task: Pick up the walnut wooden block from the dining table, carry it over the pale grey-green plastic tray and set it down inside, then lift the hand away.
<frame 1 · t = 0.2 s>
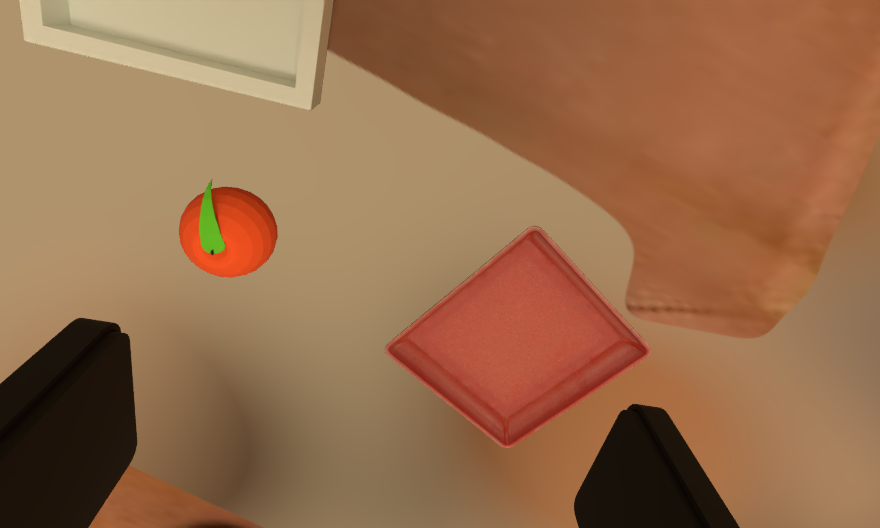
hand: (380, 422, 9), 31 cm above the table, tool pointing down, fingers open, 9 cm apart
clementine: (244, 209, 40), on the table
plant saucer: (513, 330, 47), on the table
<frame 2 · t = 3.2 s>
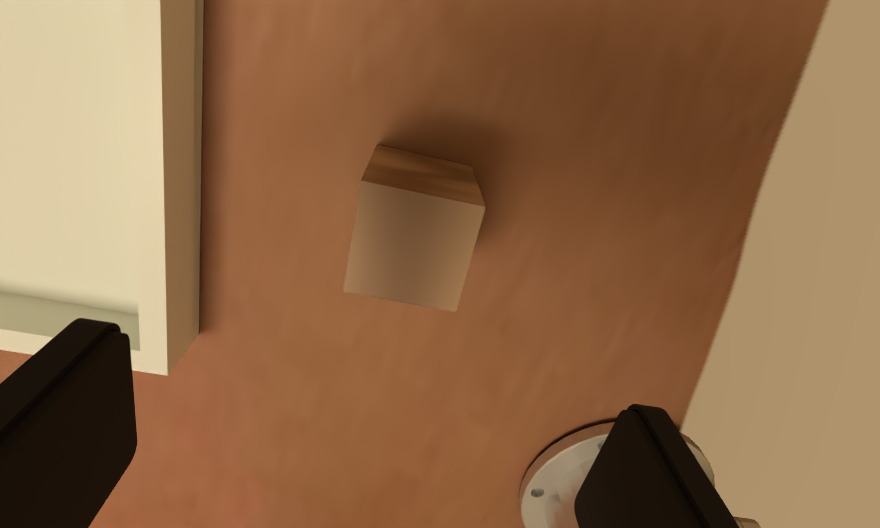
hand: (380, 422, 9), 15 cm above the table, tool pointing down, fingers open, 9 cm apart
block: (415, 200, 23), on the table
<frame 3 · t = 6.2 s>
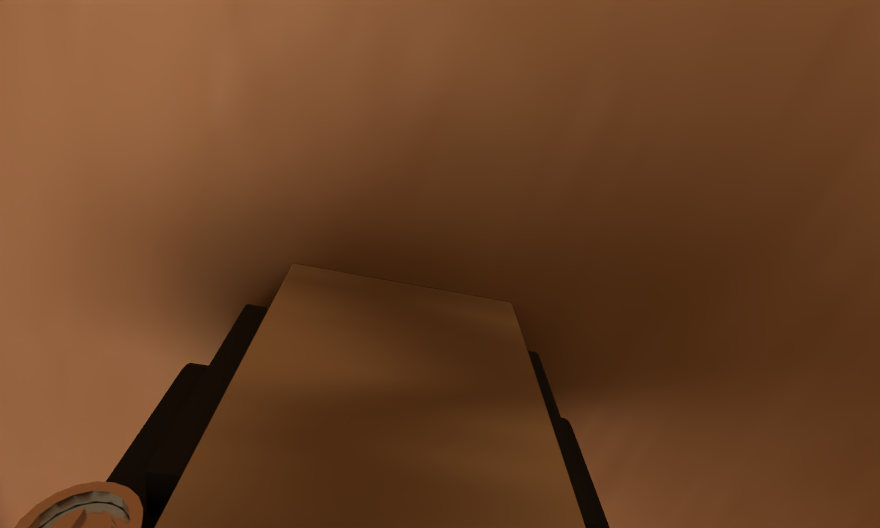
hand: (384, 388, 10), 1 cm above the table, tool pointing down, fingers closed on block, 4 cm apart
block: (386, 369, 11), on the table, touching gripper
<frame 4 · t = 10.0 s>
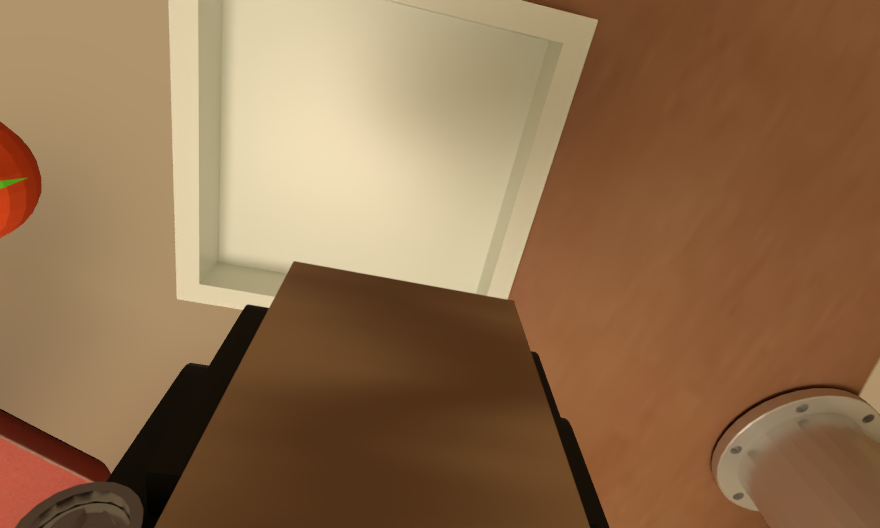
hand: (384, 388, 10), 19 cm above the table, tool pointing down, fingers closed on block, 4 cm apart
clementine: (17, 156, 26), on the table
tray: (369, 158, 27), on the table
block: (387, 368, 11), point 18 cm above the table, touching gripper
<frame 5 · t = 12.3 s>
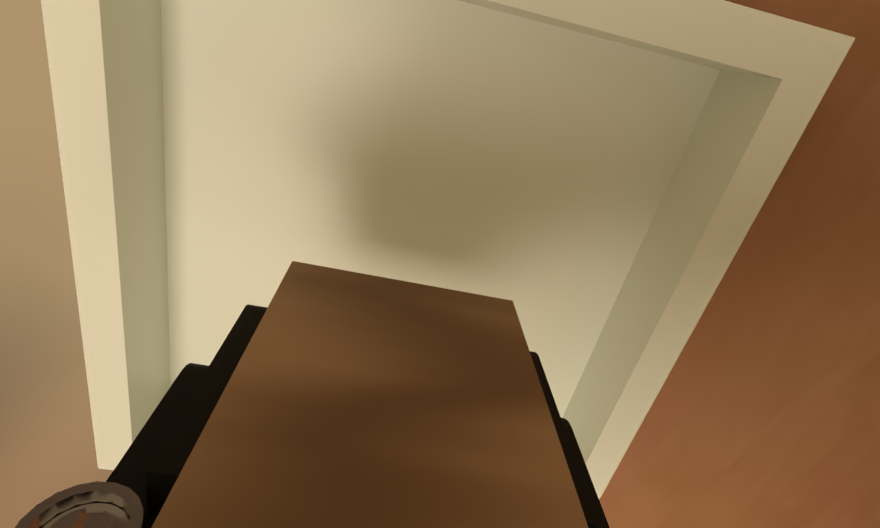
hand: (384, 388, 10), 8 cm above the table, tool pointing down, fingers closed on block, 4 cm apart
tray: (406, 245, 17), on the table
block: (386, 368, 11), point 7 cm above the table, touching gripper
when the fingers open (3 cm above the table, at t = 14.0 s): block drops 2 cm, resting on tray.
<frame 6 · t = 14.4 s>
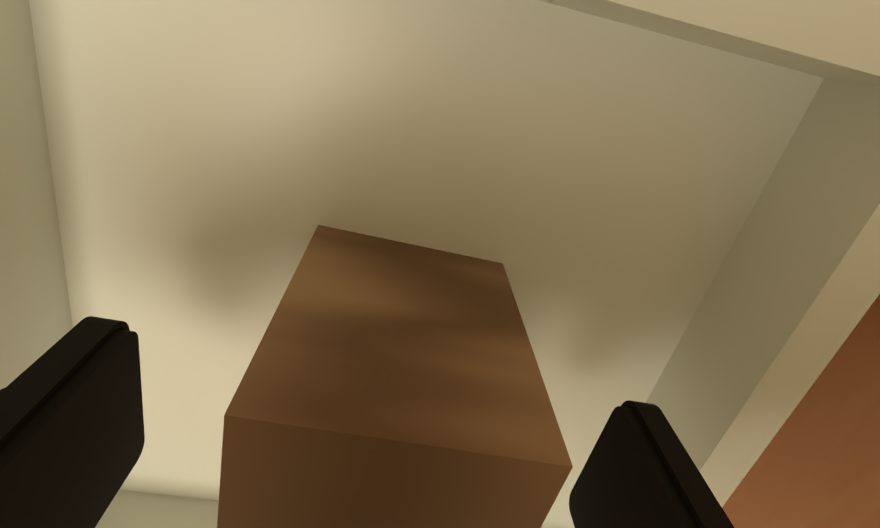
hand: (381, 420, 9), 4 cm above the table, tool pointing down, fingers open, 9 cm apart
tray: (392, 304, 13), on the table
block: (394, 321, 12), point 1 cm above the table, touching tray
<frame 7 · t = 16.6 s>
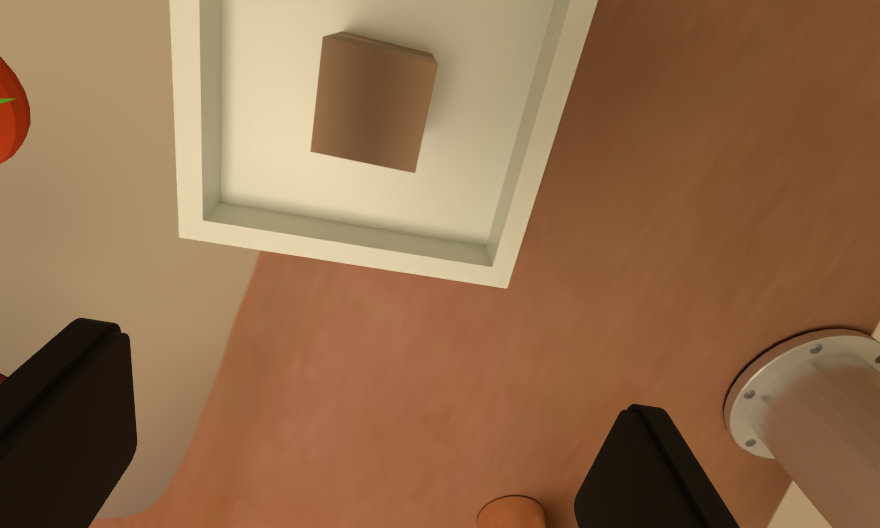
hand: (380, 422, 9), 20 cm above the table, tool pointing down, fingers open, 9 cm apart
clementine: (2, 88, 25), on the table
tray: (379, 86, 25), on the table
beer glass: (510, 515, 43), on the table
block: (380, 89, 25), point 1 cm above the table, touching tray
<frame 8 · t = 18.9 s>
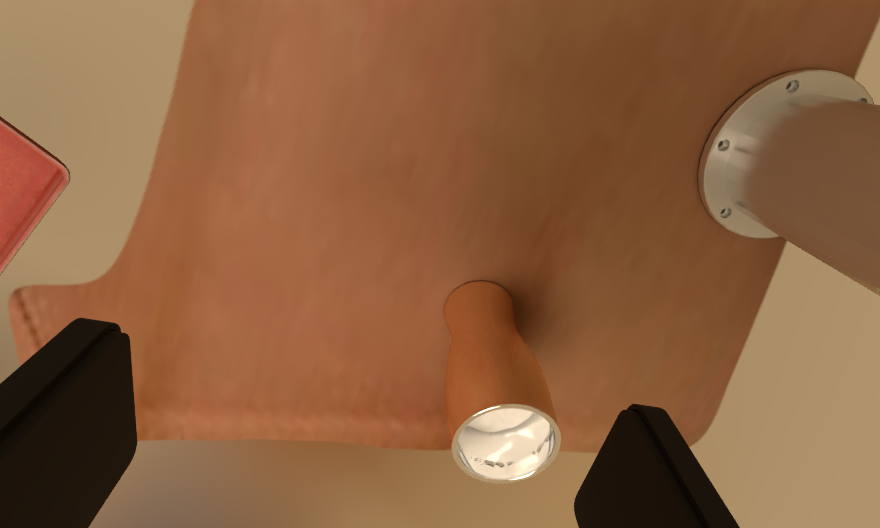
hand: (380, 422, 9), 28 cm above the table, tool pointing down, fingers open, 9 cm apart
beer glass: (478, 309, 42), on the table
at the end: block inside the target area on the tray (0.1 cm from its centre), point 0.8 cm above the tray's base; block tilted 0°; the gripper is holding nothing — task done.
